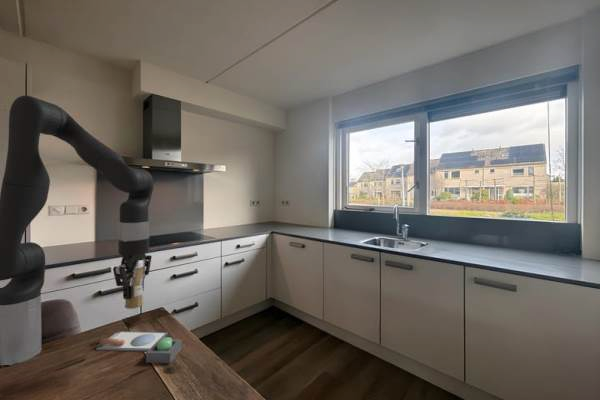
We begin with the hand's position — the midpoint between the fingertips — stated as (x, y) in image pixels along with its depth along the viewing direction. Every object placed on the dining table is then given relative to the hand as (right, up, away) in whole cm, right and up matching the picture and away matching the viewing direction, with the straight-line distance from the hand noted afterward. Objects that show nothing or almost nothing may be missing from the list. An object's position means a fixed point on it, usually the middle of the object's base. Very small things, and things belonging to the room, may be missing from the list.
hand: (133, 294), depth 76 cm
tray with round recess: (-6, -19, +9) cm, 21 cm away
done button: (+8, -18, +2) cm, 19 cm away
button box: (+8, -19, +2) cm, 21 cm away
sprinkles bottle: (0, -4, 0) cm, 4 cm away
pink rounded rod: (-11, -18, +6) cm, 22 cm away
